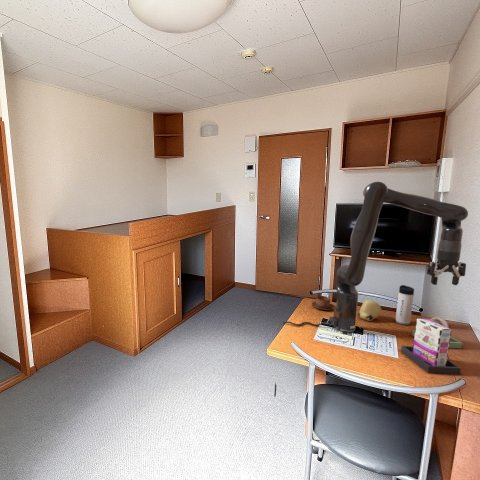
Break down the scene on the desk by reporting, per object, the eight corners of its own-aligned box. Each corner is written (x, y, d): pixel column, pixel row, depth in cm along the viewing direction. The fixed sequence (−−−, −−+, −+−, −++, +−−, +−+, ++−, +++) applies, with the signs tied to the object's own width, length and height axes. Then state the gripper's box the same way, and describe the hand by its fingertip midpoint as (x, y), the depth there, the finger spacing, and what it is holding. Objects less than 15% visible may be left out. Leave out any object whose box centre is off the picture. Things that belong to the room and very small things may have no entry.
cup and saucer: (313, 302, 199) (314, 293, 198) (335, 306, 192) (336, 297, 191) (309, 309, 189) (310, 299, 188) (332, 313, 182) (333, 303, 181)
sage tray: (429, 347, 144) (429, 341, 143) (411, 335, 155) (412, 330, 155) (461, 348, 142) (462, 343, 142) (441, 336, 154) (442, 331, 153)
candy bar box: (447, 367, 126) (452, 329, 124) (435, 368, 126) (441, 329, 123) (421, 353, 137) (426, 317, 135) (411, 353, 137) (415, 318, 134)
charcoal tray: (427, 372, 124) (428, 366, 124) (400, 351, 140) (401, 345, 140) (460, 374, 123) (461, 368, 123) (428, 352, 139) (429, 346, 139)
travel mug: (404, 320, 172) (408, 285, 169) (412, 325, 166) (417, 289, 163) (392, 319, 173) (396, 284, 170) (400, 325, 167) (404, 288, 163)
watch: (433, 336, 153) (437, 314, 151) (450, 344, 145) (453, 321, 143) (423, 336, 152) (426, 315, 151) (438, 344, 145) (442, 322, 143)
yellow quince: (359, 321, 180) (351, 312, 175) (368, 304, 182) (361, 294, 177) (377, 327, 171) (369, 318, 166) (387, 309, 173) (379, 299, 169)
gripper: (459, 248, 144) (454, 282, 147) (426, 248, 146) (421, 281, 148) (474, 251, 137) (468, 287, 140) (438, 251, 138) (433, 286, 141)
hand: (444, 284), depth 144 cm, fingers open, 8 cm apart
